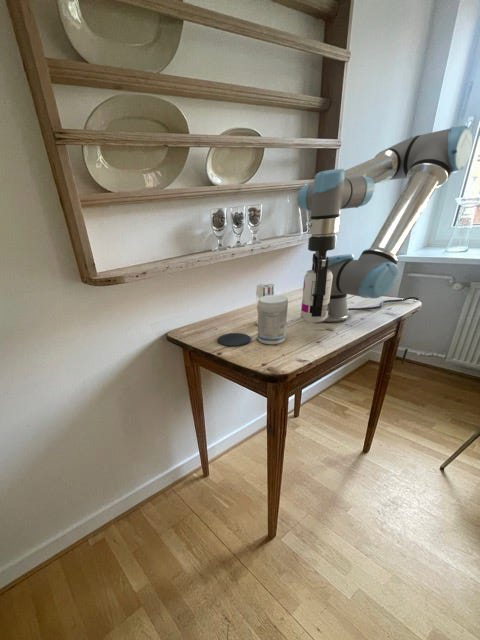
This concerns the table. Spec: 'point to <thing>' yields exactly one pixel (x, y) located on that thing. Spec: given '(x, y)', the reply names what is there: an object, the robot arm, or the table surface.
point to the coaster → (234, 339)
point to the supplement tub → (272, 319)
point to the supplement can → (308, 298)
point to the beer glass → (263, 292)
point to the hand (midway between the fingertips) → (314, 311)
